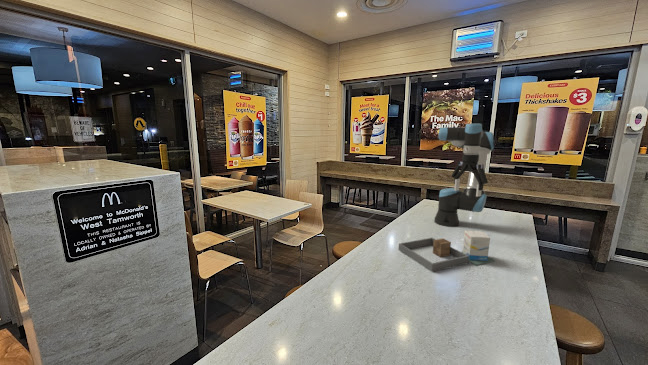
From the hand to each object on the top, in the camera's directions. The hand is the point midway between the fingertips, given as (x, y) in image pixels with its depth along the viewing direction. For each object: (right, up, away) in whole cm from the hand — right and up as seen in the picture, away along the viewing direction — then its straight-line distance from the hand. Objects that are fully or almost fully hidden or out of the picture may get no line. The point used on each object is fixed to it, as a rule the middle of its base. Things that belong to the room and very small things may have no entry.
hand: (467, 193), depth 145 cm
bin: (-24, -30, -13) cm, 41 cm away
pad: (-4, -31, -15) cm, 34 cm away
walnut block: (-19, -30, -11) cm, 37 cm away
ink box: (-4, -30, -15) cm, 34 cm away
